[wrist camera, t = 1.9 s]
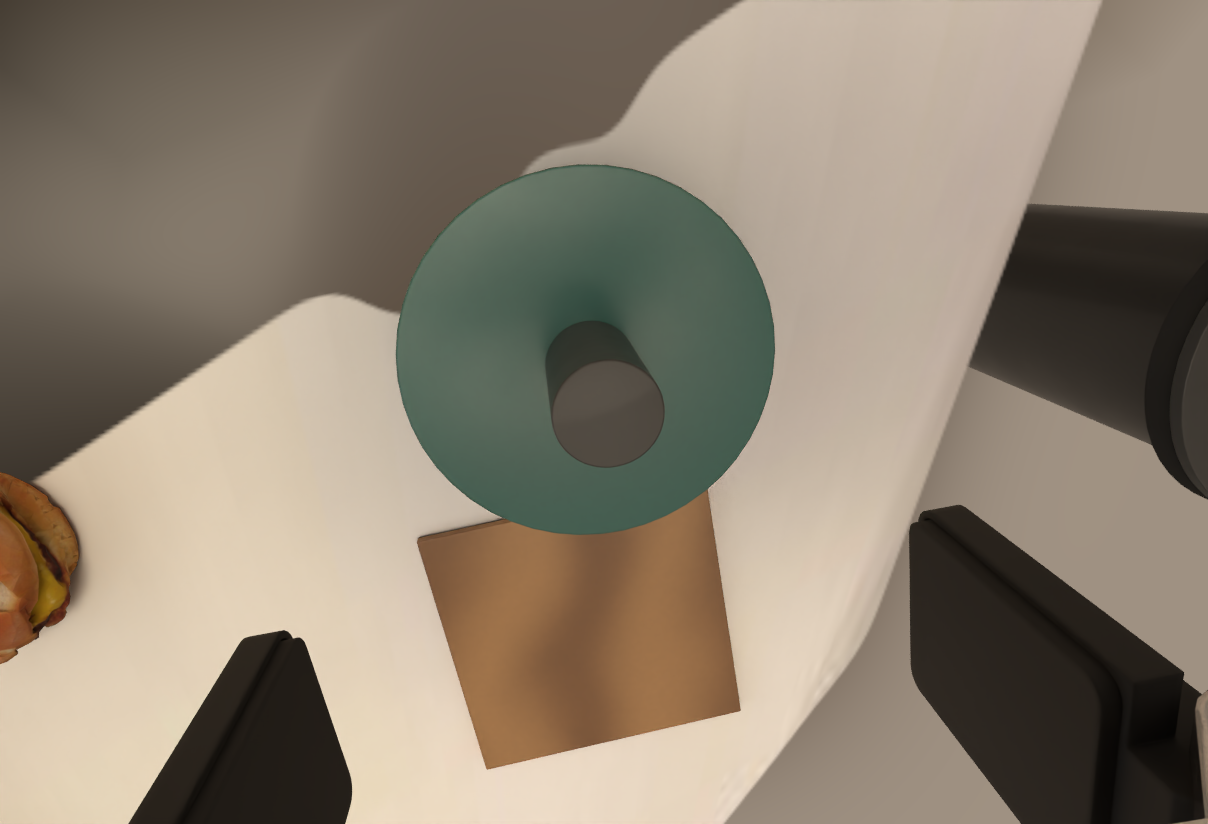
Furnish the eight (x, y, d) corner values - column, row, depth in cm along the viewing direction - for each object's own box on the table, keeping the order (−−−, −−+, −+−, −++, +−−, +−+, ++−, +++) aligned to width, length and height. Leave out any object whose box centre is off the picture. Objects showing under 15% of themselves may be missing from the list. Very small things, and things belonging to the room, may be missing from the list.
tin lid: (742, 130, 24) (820, 114, 18) (781, 481, 29) (856, 569, 22) (353, 206, 24) (290, 217, 17) (453, 553, 28) (433, 664, 22)
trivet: (703, 475, 37) (706, 479, 37) (738, 705, 42) (741, 711, 42) (417, 537, 36) (416, 542, 36) (487, 763, 41) (486, 770, 41)
